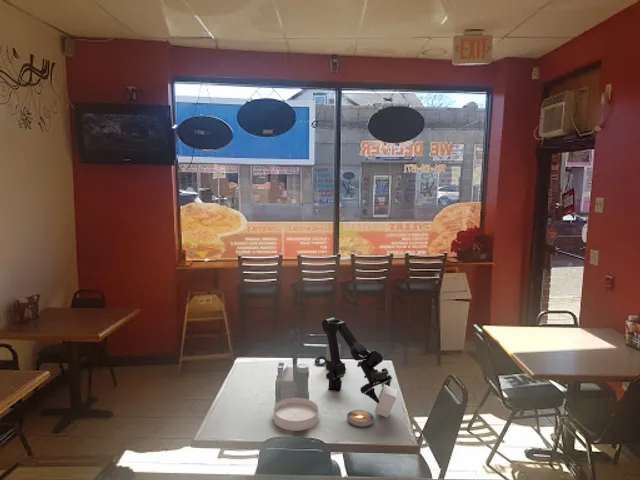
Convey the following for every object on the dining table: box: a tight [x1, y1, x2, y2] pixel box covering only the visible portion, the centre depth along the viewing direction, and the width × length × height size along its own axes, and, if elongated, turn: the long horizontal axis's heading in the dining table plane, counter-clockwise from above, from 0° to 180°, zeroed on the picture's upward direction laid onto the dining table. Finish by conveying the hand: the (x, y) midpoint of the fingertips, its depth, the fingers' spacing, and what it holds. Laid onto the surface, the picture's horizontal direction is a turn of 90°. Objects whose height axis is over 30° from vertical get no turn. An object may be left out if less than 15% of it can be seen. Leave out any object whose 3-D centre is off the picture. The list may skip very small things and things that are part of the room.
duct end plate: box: [346, 409, 375, 429], centre depth 223 cm, size 13×13×2 cm
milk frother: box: [314, 342, 342, 372], centre depth 281 cm, size 14×16×15 cm
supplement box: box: [373, 384, 398, 418], centre depth 227 cm, size 7×7×13 cm
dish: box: [272, 397, 320, 432], centre depth 223 cm, size 22×22×5 cm
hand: (384, 399), depth 227 cm, fingers closed on supplement box, 9 cm apart
